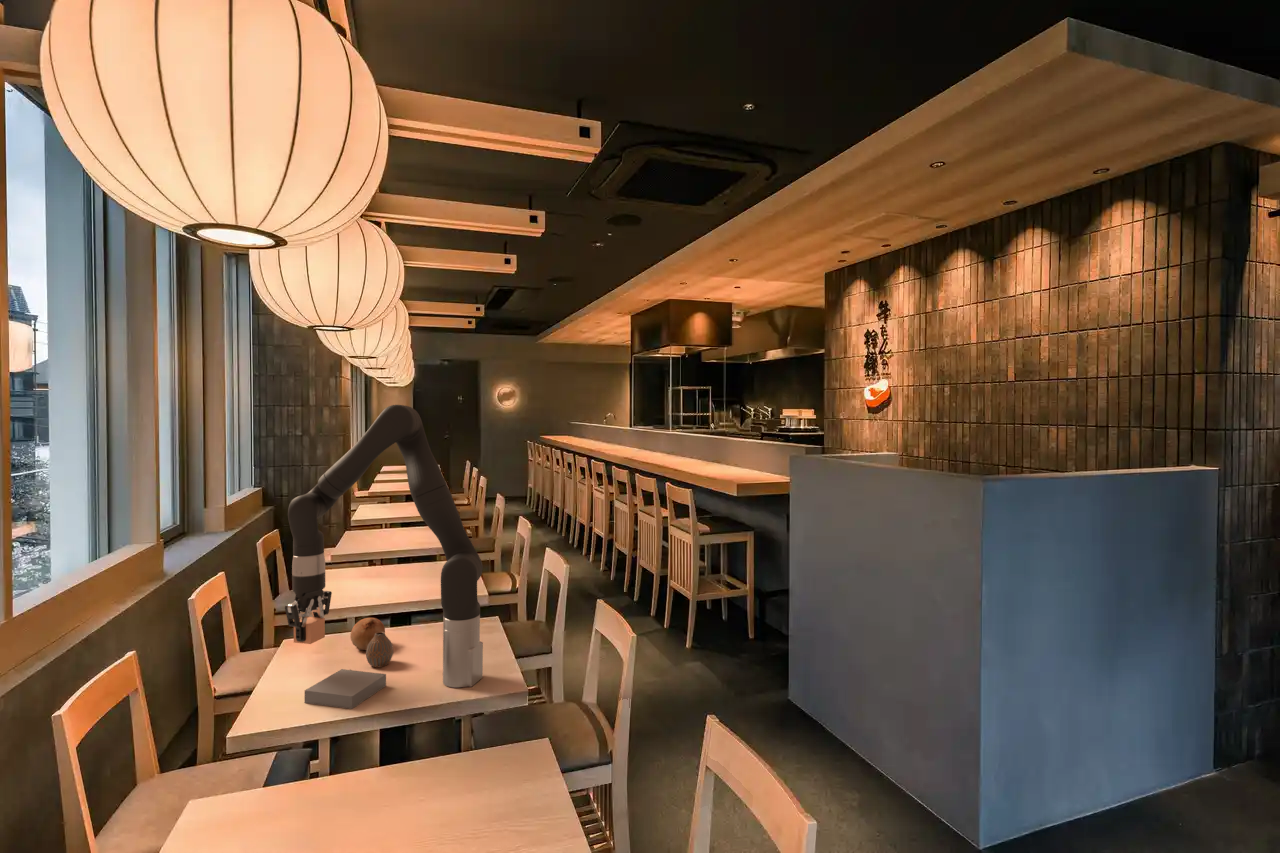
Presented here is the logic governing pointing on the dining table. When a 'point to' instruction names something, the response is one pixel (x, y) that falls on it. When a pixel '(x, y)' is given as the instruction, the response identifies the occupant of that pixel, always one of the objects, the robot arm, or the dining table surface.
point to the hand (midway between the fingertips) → (309, 637)
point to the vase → (379, 650)
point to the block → (313, 630)
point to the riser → (345, 688)
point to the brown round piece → (365, 632)
